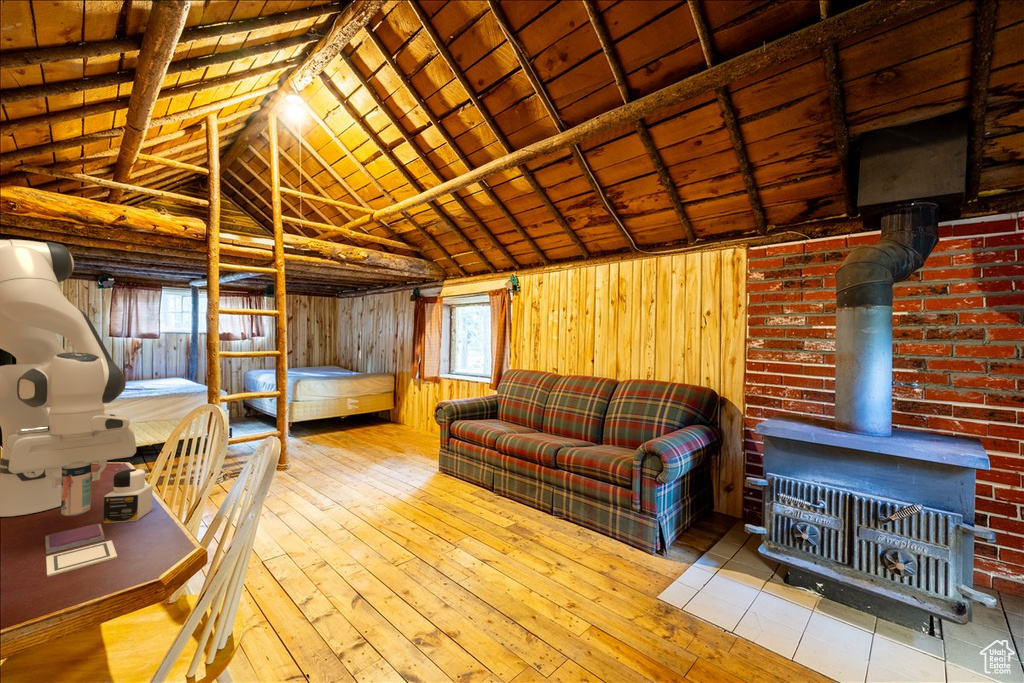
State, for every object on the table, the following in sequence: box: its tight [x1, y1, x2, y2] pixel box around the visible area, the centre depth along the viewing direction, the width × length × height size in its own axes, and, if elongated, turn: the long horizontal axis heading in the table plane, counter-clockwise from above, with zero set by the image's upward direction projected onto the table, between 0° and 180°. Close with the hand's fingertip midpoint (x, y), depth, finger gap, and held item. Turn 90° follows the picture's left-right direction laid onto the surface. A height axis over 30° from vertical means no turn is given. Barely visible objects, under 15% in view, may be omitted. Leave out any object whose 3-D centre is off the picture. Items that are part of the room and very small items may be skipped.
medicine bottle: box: [103, 468, 154, 524], centre depth 109 cm, size 7×7×12 cm
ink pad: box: [45, 523, 105, 555], centre depth 96 cm, size 9×9×1 cm
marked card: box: [45, 540, 118, 578], centre depth 89 cm, size 10×10×1 cm
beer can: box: [60, 461, 92, 517], centre depth 96 cm, size 5×5×12 cm
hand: (76, 483), depth 96 cm, fingers closed on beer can, 5 cm apart
